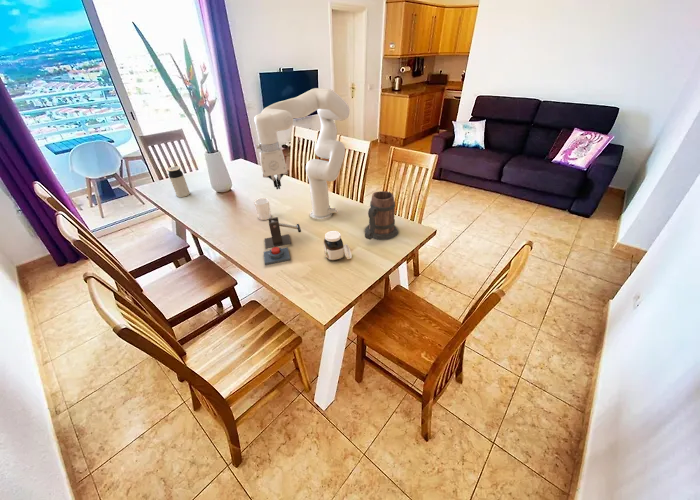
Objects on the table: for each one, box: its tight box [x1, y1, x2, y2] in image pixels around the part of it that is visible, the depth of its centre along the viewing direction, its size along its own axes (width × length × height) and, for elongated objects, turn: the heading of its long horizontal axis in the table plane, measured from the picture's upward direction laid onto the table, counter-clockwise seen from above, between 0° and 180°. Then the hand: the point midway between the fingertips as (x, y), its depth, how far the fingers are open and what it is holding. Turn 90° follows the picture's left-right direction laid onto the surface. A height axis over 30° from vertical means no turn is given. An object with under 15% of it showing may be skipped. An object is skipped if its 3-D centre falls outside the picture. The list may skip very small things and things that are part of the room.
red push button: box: [270, 246, 280, 254], centre depth 132 cm, size 4×4×2 cm
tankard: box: [364, 190, 399, 241], centre depth 144 cm, size 24×17×20 cm
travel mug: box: [166, 165, 191, 198], centre depth 190 cm, size 8×8×18 cm
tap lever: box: [271, 220, 302, 233], centre depth 141 cm, size 14×6×2 cm, turn 107°
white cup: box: [253, 197, 272, 221], centre depth 164 cm, size 8×8×10 cm
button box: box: [263, 247, 291, 266], centre depth 133 cm, size 11×9×4 cm
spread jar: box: [323, 230, 353, 262], centre depth 131 cm, size 12×11×12 cm
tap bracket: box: [264, 216, 292, 249], centre depth 141 cm, size 12×9×13 cm
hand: (278, 187), depth 132 cm, fingers closed
